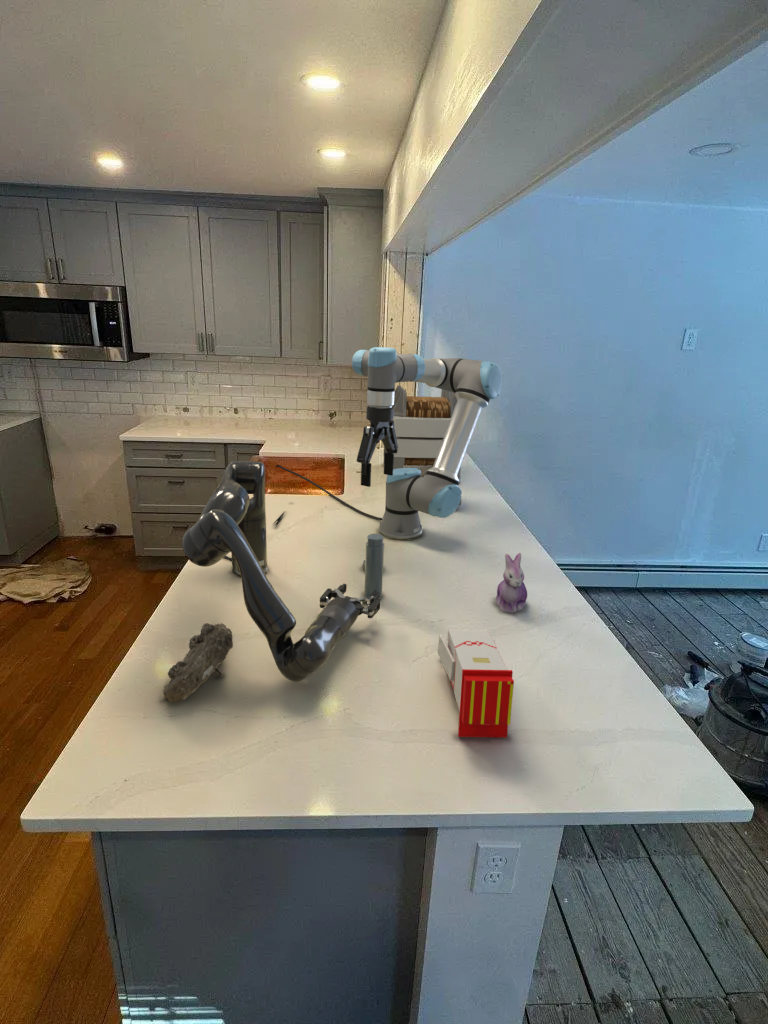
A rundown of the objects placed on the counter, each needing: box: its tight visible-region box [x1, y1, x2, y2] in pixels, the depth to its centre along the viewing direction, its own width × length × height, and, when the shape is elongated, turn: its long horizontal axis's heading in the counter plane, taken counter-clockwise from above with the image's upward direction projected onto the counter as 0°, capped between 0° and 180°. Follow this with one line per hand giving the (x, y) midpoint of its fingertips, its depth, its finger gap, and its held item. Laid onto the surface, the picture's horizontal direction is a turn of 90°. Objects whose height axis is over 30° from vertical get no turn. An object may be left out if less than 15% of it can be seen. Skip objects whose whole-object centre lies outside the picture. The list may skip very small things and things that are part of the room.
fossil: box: [162, 622, 234, 703], centre depth 119 cm, size 22×10×15 cm
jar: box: [363, 533, 385, 599], centre depth 154 cm, size 5×5×18 cm
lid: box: [362, 559, 365, 572], centre depth 172 cm, size 6×6×2 cm
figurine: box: [495, 552, 528, 614], centre depth 152 cm, size 9×10×15 cm
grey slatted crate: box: [383, 384, 462, 483], centre depth 268 cm, size 34×33×41 cm
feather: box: [272, 510, 286, 528], centre depth 212 cm, size 2×28×2 cm
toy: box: [437, 628, 515, 738], centre depth 117 cm, size 12×13×30 cm
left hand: (360, 590), depth 145 cm, fingers open, 8 cm apart
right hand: (377, 480), depth 163 cm, fingers open, 13 cm apart
